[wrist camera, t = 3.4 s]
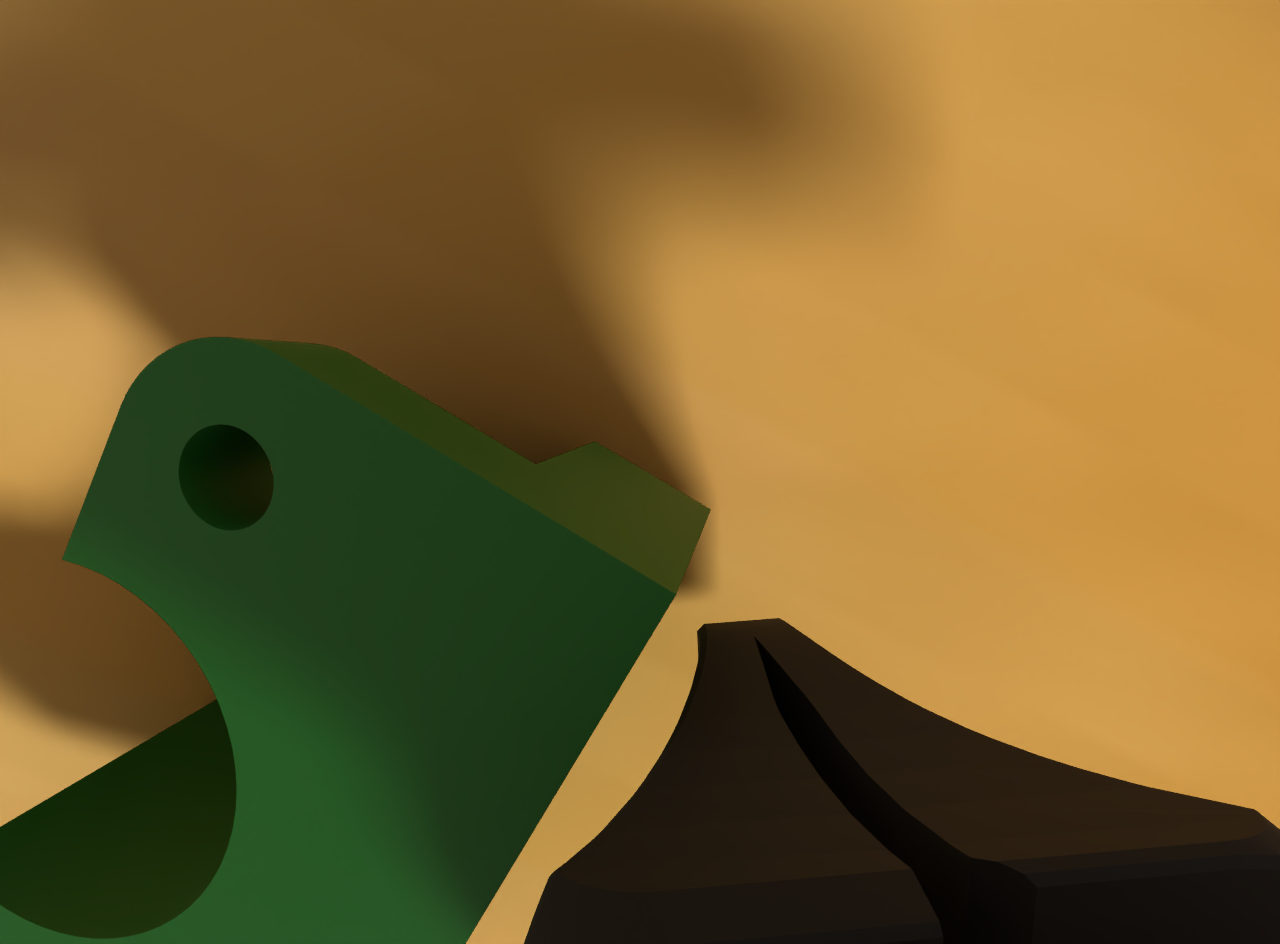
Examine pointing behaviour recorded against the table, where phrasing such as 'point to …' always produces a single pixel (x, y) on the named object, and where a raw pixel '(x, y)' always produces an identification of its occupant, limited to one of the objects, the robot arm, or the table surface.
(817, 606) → the table surface
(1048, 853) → the robot arm
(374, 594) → the clamp
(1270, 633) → the table surface
